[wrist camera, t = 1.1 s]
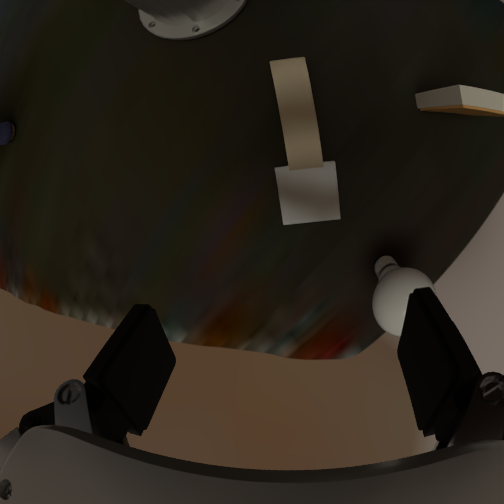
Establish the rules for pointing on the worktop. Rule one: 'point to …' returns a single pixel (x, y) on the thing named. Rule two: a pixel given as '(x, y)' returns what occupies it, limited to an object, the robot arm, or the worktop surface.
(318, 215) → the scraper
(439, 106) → the tile
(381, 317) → the lightbulb
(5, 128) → the rubber mallet
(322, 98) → the worktop surface
